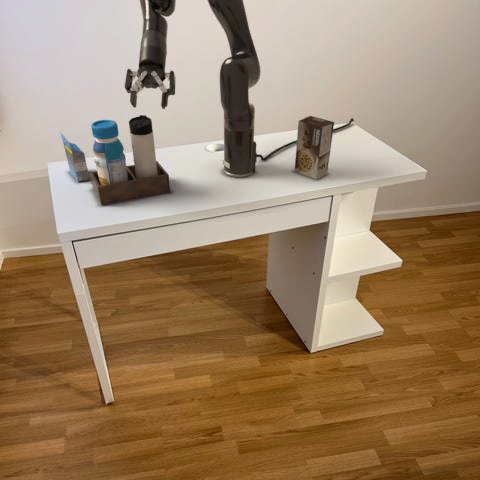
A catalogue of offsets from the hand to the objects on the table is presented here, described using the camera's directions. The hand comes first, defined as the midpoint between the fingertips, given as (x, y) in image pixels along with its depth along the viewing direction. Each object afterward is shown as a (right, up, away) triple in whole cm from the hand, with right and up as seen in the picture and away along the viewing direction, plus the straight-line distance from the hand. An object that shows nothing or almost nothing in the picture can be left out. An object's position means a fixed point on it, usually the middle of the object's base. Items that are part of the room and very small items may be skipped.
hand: (148, 106), depth 132 cm
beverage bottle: (-10, -25, +3) cm, 27 cm away
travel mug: (-1, -22, +6) cm, 23 cm away
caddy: (-6, -23, +4) cm, 24 cm away
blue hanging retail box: (-24, -16, +12) cm, 31 cm away
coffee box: (+49, -14, +16) cm, 54 cm away
